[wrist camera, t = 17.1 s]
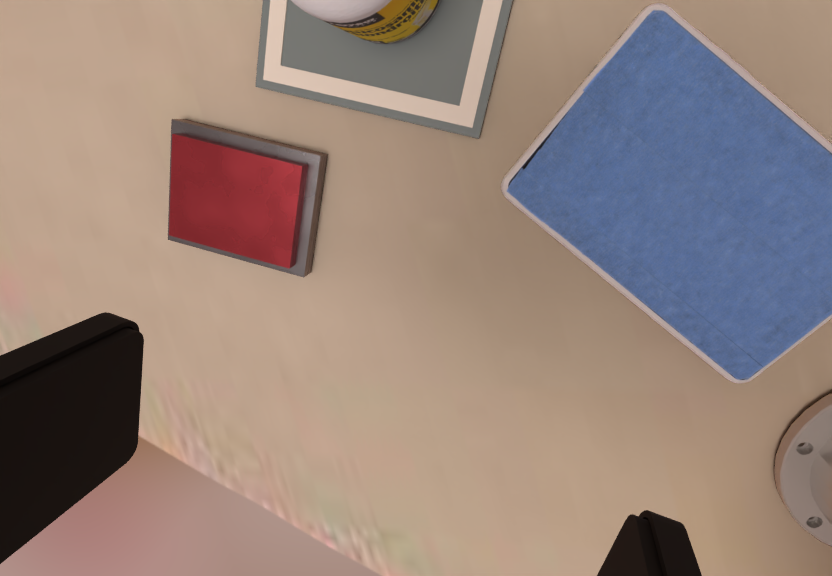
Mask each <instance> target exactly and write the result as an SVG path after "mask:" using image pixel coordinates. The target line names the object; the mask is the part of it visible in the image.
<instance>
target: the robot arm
mask: <svg viewBox="0 0 832 576" xmlns="http://www.w3.org/2000/svg"><path fill="white" fill-rule="evenodd" d="M143 344H144V339H143V335H142V334H141V333H140V332H139V327H138V325H137V324H136V323H135V322H133V321H130V320H128V319H125V318H122V317H119V316H117V315H114V314H111V313H106V312H105V313H101V314H98V315H96V316H94V317H91V318H89V319H86V320H84V321H82V322H79V323H77V324H75V325H72V326H70V327H67V328H65V329H63V330H60V331H58V332H56V333H53V334H51V335H48V336H46V337H44V338H41V339H39V340H36V341H34V342H32V343H29V344H27V345H25V346H22V347H20V348H17V349H15V350H13V351H10V352H8V353H6V354H3V355H1V356H0V564H1V563H2V562H3V561H4V560H6V559H7V558H8V557H9V556H11V555H12V554H13V553H14V552H16V551H17V550H18V549H19V548H21V547H22V546H23V545H24V544H26V543H27V542H28V541H29V540H30V539H32V538H33V537H34V536H36V535H37V534H38V533H39V532H41V531H42V530H43V529H44V528H46V527H47V526H48V525H49V524H51V523H52V522H53V521H54V520H56V519H57V518H58V517H59V516H60V515H62V514H63V513H64V512H65V511H67V510H68V509H69V508H71V507H72V506H73V505H74V504H75V503H77V502H78V501H79V500H81V499H82V498H83V497H84V496H86V495H87V494H88V493H89V492H90V491H92V490H93V489H94V488H96V487H97V486H98V485H99V484H101V483H102V482H103V481H104V480H106V479H107V478H108V477H109V476H111V475H112V474H113V473H114V472H115V471H117V470H118V469H119V468H121V467H122V466H123V465H124V464H126V463H127V461H129V460H130V458H131V457H132V456H133V454H134V452H135V450H136V448H137V444H138V430H139V413H140V396H141V379H142V361H143ZM774 474H775V481H776V487H777V490H778V492H779V494H780V497H781V499H782V501H783V503H784V504H785V506H786V507H787V509H788V510H789V512H790V513H791V515H792V517H793V518H794V519H795V520H796V521H797V523H798V524H799V525H800V526H801V527H802V528H803V529H804V530H805V531H807V532H808V533H809V534H811V535H812V536H814V537H815V538H816V539H818V540H819V541H821V542H823V543H825V544H827V545H829V546H831V547H832V393H831V394H829V395H827V396H825V397H823V398H822V399H820V400H819V401H817V402H816V403H815V404H813V405H812V406H810V407H809V408H808V409H806V410H805V411H804V412H803V413H802V414H801V415H800V416H799V417H798V418H797V419H796V420H795V421H794V422H793V424H792V425H791V426H790V428H789V429H788V431H787V432H786V434H785V435H784V437H783V439H782V440H781V443H780V446H779V449H778V451H777V454H776V459H775V468H774ZM597 576H702V575H701V572H700V569H699V566H698V563H697V560H696V557H695V554H694V552H693V549H692V546H691V543H690V540H689V537H688V534H687V531H686V529H685V527H684V525H683V524H682V523H680V522H678V521H675V520H672V519H670V518H667V517H664V516H661V515H659V514H656V513H653V512H650V511H648V510H646V511H643V512H642V513H641V514H640V515H639V517H638V516H635V515H629V516H628V518H627V519H626V521H625V523H624V525H623V526H622V528H621V530H620V532H619V534H618V536H617V538H616V540H615V542H614V544H613V546H612V548H611V550H610V552H609V554H608V555H607V557H606V559H605V561H604V563H603V565H602V567H601V569H600V571H599V573H598V575H597Z"/></svg>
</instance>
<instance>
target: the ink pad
mask: <svg viewBox="0 0 832 576" xmlns="http://www.w3.org/2000/svg"><path fill="white" fill-rule="evenodd" d="M327 156H328V154H324V153H320V152H316V151H312V150H307V149H303V148H299V147H295V146H291V145H287V144H283V143H279V142H275V141H271V140H267V139H263V138H259V137H255V136H251V135H246V134H242V133H238V132H234V131H230V130H226V129H222V128H218V127H214V126H210V125H206V124H202V123H198V122H194V121H190V120H185V119H172V125H171V157H170V190H169V222H168V240H171V241H175V242H179V243H182V244H186V245H189V246H193V247H196V248H200V249H204V250H207V251H211V252H214V253H218V254H222V255H225V256H229V257H232V258H236V259H240V260H243V261H247V262H250V263H254V264H258V265H261V266H265V267H268V268H272V269H276V270H279V271H283V272H286V273H290V274H294V275H297V276H301V277H305V276H307V275H308V274H309V273H311V269H312V262H313V255H314V248H315V241H316V234H317V227H318V220H319V213H320V206H321V199H322V191H323V184H324V177H325V170H326V163H327Z"/></svg>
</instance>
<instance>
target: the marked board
mask: <svg viewBox="0 0 832 576" xmlns="http://www.w3.org/2000/svg"><path fill="white" fill-rule="evenodd" d="M512 3H513V0H440V2H439V5H438V7H437V9H436V11H435V13H434V15H433V16H432V18H431V19H430V20H429V22H428V23H427V24H426V25H425V26H424V27H423V28H422V29H421V30H420V31H419V32H418V33H416V34H415V35H413V36H412V37H410V38H408V39H406V40H403V41H401V42H397V43H392V44H378V43H372V42H369V41H366V40H363V39H361V38H359V37H357V36H355V35H352V34H350V33H348V32H346V31H344V30H342V29H339V28H337V27H335V26H333V25H331V24H329V23H327V22H325V21H323V20H321V19H318V18H316V17H314V16H312V15H310V14H308V13H307V12H305V11H303V10H302V9H301V8H299V7H298V6H297V5H295V4H294V3H293V2H292V1H291V0H263V6H262V18H261V29H260V41H259V52H258V64H257V75H256V87H259V88H263V89H268V90H272V91H276V92H281V93H285V94H289V95H293V96H298V97H302V98H306V99H311V100H315V101H319V102H323V103H328V104H332V105H336V106H341V107H345V108H349V109H353V110H358V111H362V112H366V113H371V114H375V115H379V116H383V117H388V118H392V119H396V120H401V121H405V122H409V123H414V124H418V125H422V126H426V127H431V128H435V129H439V130H444V131H448V132H452V133H456V134H461V135H465V136H469V137H474V138H478V139H479V137H480V133H481V129H482V125H483V121H484V117H485V113H486V109H487V105H488V101H489V97H490V92H491V88H492V84H493V80H494V76H495V72H496V68H497V64H498V60H499V56H500V52H501V48H502V43H503V39H504V35H505V31H506V27H507V23H508V19H509V15H510V11H511V7H512Z"/></svg>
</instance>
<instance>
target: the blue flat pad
mask: <svg viewBox="0 0 832 576" xmlns="http://www.w3.org/2000/svg"><path fill="white" fill-rule="evenodd" d="M501 191H502V193H503V195H504V196H505V198H506V199H507V200H508V201H510V202H511V203H512V204H513V205H515V206H516V207H517V208H518V209H519V210H521V211H522V212H523V213H524V214H525V215H527V216H528V217H529V218H530V219H531V220H533V221H534V222H535V223H536V224H537V225H539V226H540V227H541V228H542V229H544V230H545V231H546V232H547V233H548V234H550V235H551V236H552V237H553V238H555V239H556V240H557V241H558V242H560V243H561V244H562V245H563V246H564V247H566V248H567V249H568V250H569V251H571V252H572V253H573V254H574V255H575V256H577V257H578V258H579V259H580V260H581V261H583V262H584V263H585V264H586V265H587V266H589V267H590V268H591V269H592V270H594V271H595V272H596V273H597V274H598V275H600V276H601V277H602V278H603V279H604V280H606V281H607V282H608V283H609V284H611V285H612V286H613V287H614V288H616V289H617V290H618V291H619V292H620V293H622V294H623V295H624V296H625V297H626V298H628V299H629V300H630V301H631V302H632V303H634V304H635V305H636V306H637V307H639V308H640V309H641V310H642V311H644V312H645V313H646V314H647V315H648V316H650V317H651V318H652V319H653V320H654V321H656V322H657V323H658V324H659V325H661V326H662V327H663V328H664V329H665V330H667V331H668V332H669V333H670V334H672V335H673V336H674V337H675V338H677V339H678V340H679V341H680V342H682V343H683V344H684V345H685V346H686V347H688V348H689V349H690V350H691V351H693V352H694V353H695V354H696V355H698V356H699V357H700V358H701V359H702V360H704V361H705V362H706V363H707V364H709V365H710V366H711V367H712V368H713V369H715V370H716V371H717V372H718V373H720V374H721V375H722V376H723V377H725V378H726V379H728V380H729V381H731V382H734V383H746V382H749V381H751V380H752V379H754V378H755V377H757V376H758V375H759V374H761V373H762V372H763V371H764V370H765V369H767V368H768V367H769V366H771V365H772V364H773V363H775V362H776V361H777V360H778V359H780V358H781V357H782V356H783V355H785V354H786V353H788V352H789V351H790V350H791V349H793V348H794V347H795V346H797V345H798V344H799V343H801V342H802V341H803V340H804V339H805V338H807V337H808V336H809V335H811V334H812V333H813V332H815V331H816V330H817V329H818V328H820V327H821V326H822V325H823V324H825V323H826V322H827V321H829V320H830V319H831V318H832V144H831V143H830V142H829V141H828V140H827V139H825V138H824V137H823V136H822V135H821V134H820V133H819V132H817V131H816V130H815V129H814V128H813V127H811V126H810V125H809V124H808V123H807V122H805V121H804V120H803V119H802V118H801V117H800V116H798V115H797V114H796V113H795V112H794V111H792V110H791V109H790V108H789V107H788V106H787V105H785V104H784V103H783V102H782V101H781V100H780V99H778V98H777V97H776V96H775V95H774V94H773V93H771V92H770V91H769V90H768V89H767V88H765V87H764V86H763V85H762V84H761V83H759V82H758V81H757V80H756V79H755V78H753V77H752V75H751V74H750V73H749V72H748V71H747V70H746V69H744V68H743V67H742V66H741V65H740V64H739V63H737V62H736V61H734V60H733V59H732V58H731V57H730V56H729V55H728V54H727V53H726V52H725V51H723V50H722V49H721V48H719V47H717V46H716V45H715V44H713V43H712V42H711V41H710V40H709V39H708V38H707V37H706V36H705V35H704V34H703V33H701V32H700V31H699V30H698V29H696V28H694V27H693V26H692V25H691V24H689V23H688V22H687V21H686V20H685V19H683V18H682V17H681V16H680V15H679V14H677V13H676V12H675V11H674V10H673V9H672V8H671V7H669V6H668V5H665V4H662V3H654V4H651V5H649V6H647V7H645V8H644V9H643V10H642V11H641V12H640V13H639V14H638V15H637V16H636V18H635V19H634V20H633V21H632V22H631V24H630V25H629V26H628V27H627V29H626V30H625V31H624V33H623V34H622V36H621V37H620V38H619V39H618V40H617V41H616V42H615V43H614V44H613V45H612V47H611V48H610V49H609V50H608V52H607V53H606V54H605V55H604V57H603V58H602V59H601V60H600V61H599V62H598V64H597V65H596V67H595V68H594V69H593V71H592V72H591V73H590V74H589V75H588V76H587V77H586V78H585V80H584V81H583V82H582V83H581V84H580V86H579V87H578V88H577V89H576V90H575V92H574V93H573V94H572V95H571V96H570V98H569V99H568V100H567V101H566V102H565V104H564V105H563V106H562V107H561V109H560V110H559V111H558V112H557V113H556V115H555V116H554V117H553V118H552V119H551V121H550V122H549V123H548V124H547V125H546V127H545V128H544V129H543V130H542V132H541V133H540V134H539V135H538V136H537V138H536V139H535V140H534V141H533V142H532V144H531V145H530V146H529V147H528V148H527V150H526V151H525V152H524V153H523V154H522V155H521V157H520V158H519V159H518V160H517V161H516V163H515V164H514V165H513V166H512V167H511V168H510V170H509V171H508V172H507V173H506V174H505V176H504V177H503V180H502V182H501Z"/></svg>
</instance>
